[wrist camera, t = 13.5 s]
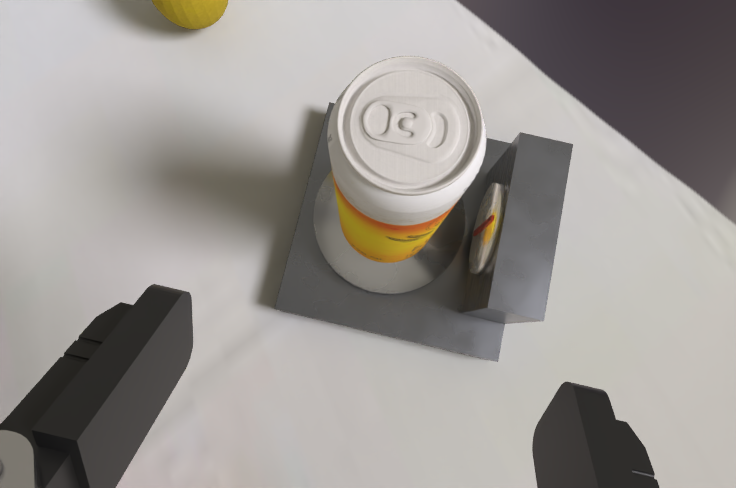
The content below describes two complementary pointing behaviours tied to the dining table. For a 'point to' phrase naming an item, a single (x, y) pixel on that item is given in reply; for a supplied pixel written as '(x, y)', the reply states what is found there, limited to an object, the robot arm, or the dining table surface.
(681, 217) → the dining table surface
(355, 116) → the beer can
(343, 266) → the pan
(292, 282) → the scale
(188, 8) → the lemon
